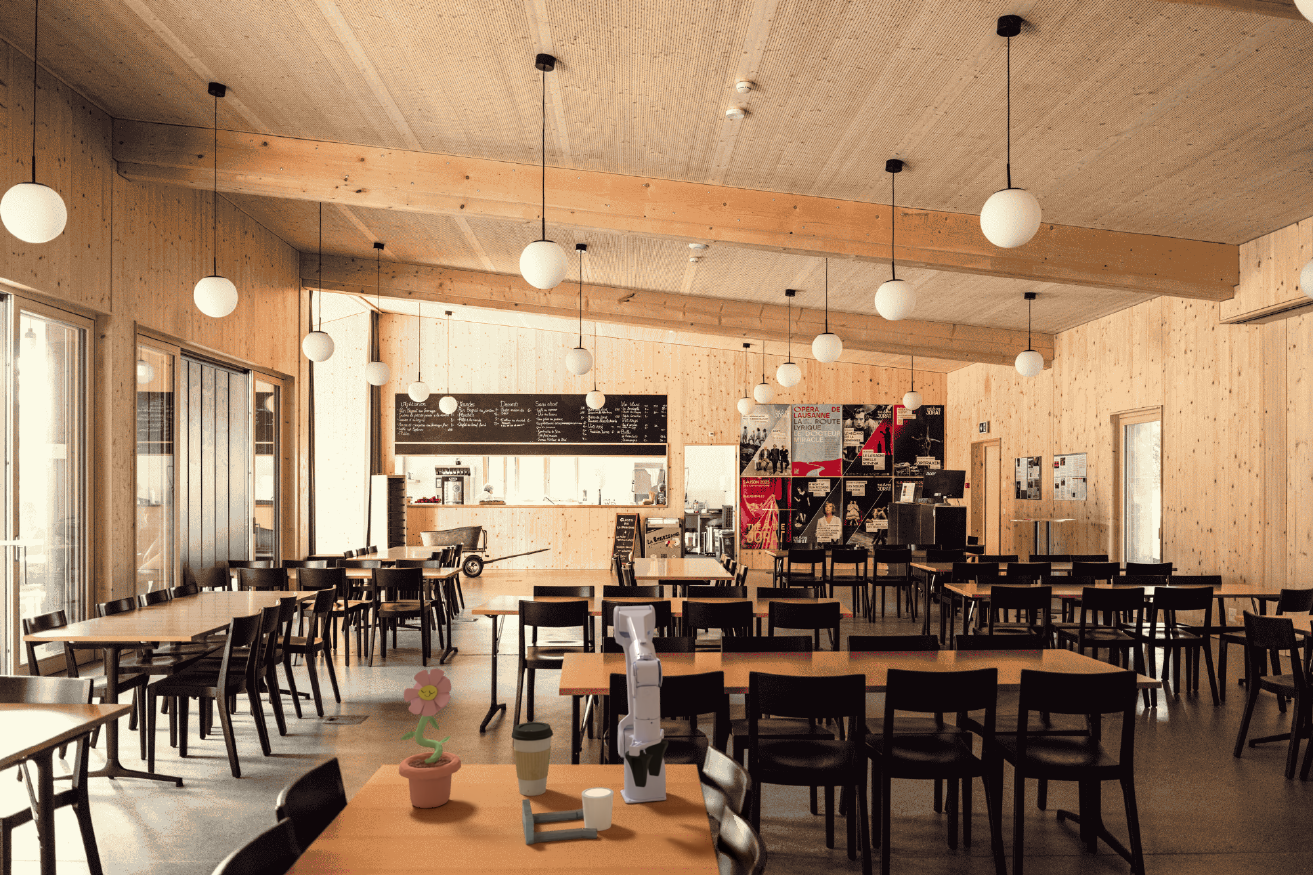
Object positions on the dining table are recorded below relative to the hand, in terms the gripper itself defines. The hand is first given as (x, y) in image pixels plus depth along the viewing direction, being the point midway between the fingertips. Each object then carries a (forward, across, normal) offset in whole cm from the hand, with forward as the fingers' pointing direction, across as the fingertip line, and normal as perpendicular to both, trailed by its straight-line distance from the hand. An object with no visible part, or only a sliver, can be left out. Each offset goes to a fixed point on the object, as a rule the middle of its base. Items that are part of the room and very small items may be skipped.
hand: (647, 780), depth 190 cm
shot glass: (+9, +6, -9) cm, 14 cm away
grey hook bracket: (+8, +11, -16) cm, 21 cm away
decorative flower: (+9, +8, -52) cm, 53 cm away
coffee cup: (+9, -8, -33) cm, 35 cm away
